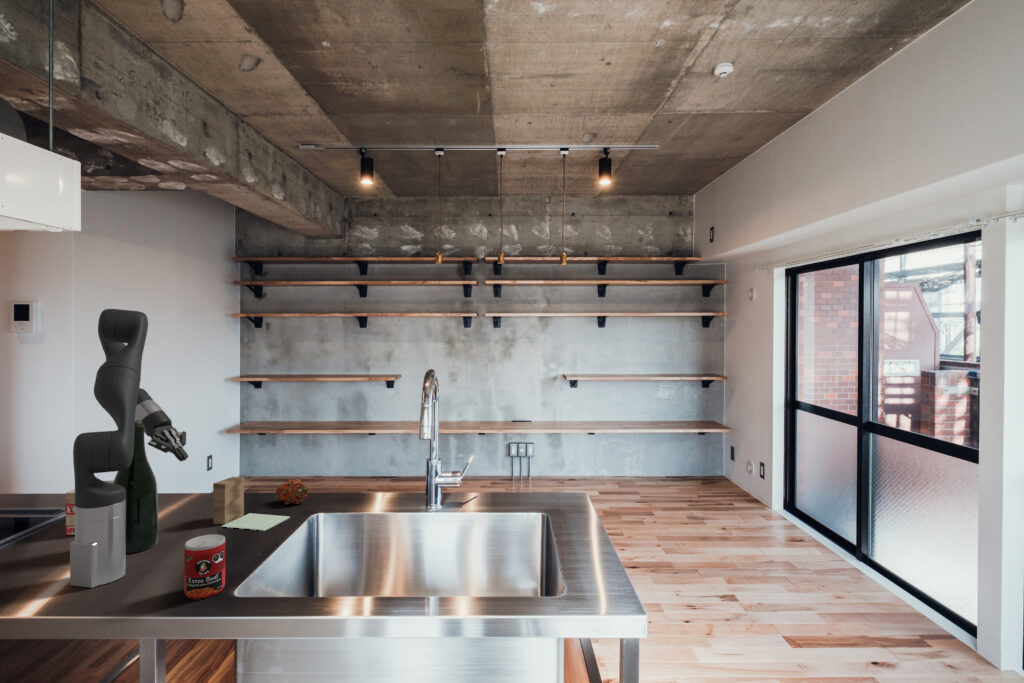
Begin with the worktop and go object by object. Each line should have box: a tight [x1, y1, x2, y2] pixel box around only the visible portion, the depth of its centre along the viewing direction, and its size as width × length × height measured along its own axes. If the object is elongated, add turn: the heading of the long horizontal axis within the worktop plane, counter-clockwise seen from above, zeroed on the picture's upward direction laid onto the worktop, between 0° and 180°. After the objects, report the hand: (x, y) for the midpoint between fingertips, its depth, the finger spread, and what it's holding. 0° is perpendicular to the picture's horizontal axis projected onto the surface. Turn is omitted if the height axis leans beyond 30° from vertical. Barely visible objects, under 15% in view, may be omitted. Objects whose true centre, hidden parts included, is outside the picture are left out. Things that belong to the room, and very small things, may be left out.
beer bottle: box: [112, 421, 159, 555], centre depth 142 cm, size 10×10×33 cm
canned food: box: [183, 533, 226, 600], centre depth 118 cm, size 8×8×11 cm
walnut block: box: [212, 476, 245, 526], centre depth 164 cm, size 8×4×12 cm, turn 168°
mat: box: [220, 512, 291, 532], centre depth 162 cm, size 12×14×1 cm
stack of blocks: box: [65, 480, 114, 536], centre depth 161 cm, size 21×6×12 cm, turn 3°
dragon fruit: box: [275, 478, 311, 505], centre depth 182 cm, size 8×8×12 cm
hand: (184, 459), depth 167 cm, fingers closed
